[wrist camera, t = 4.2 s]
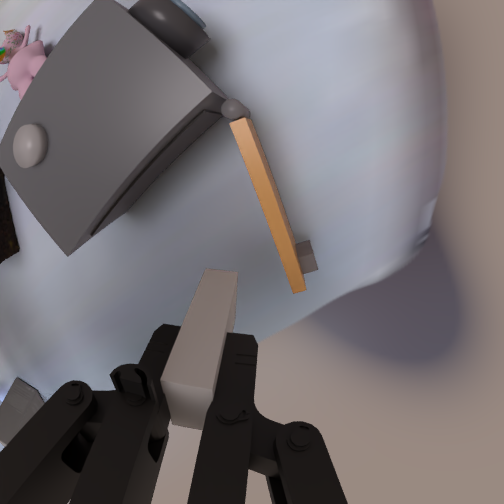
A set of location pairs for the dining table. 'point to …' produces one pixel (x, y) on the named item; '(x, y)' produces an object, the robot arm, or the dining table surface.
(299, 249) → the side door
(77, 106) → the camera body
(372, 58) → the dining table surface
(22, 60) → the pink creature figurine
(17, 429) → the skincare box
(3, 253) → the candle
